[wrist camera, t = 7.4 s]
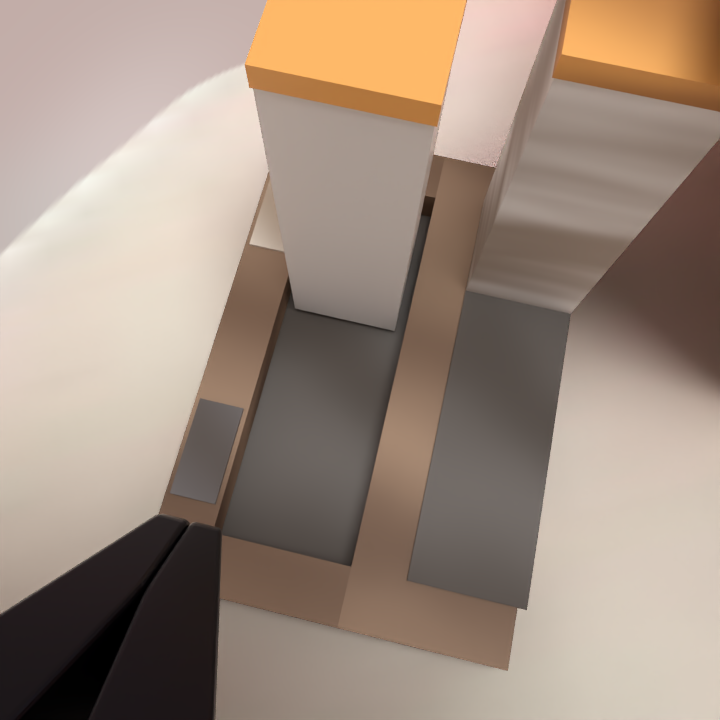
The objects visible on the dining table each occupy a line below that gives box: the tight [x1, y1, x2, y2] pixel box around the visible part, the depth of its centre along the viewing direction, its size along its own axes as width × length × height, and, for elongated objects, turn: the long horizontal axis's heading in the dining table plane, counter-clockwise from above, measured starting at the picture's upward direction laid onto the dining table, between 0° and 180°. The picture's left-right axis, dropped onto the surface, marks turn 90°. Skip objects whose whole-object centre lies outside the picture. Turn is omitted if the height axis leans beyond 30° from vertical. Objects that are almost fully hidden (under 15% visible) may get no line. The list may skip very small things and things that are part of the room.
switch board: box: [159, 0, 720, 671], centre depth 17 cm, size 16×11×12 cm
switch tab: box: [245, 0, 467, 331], centre depth 18 cm, size 4×4×12 cm
